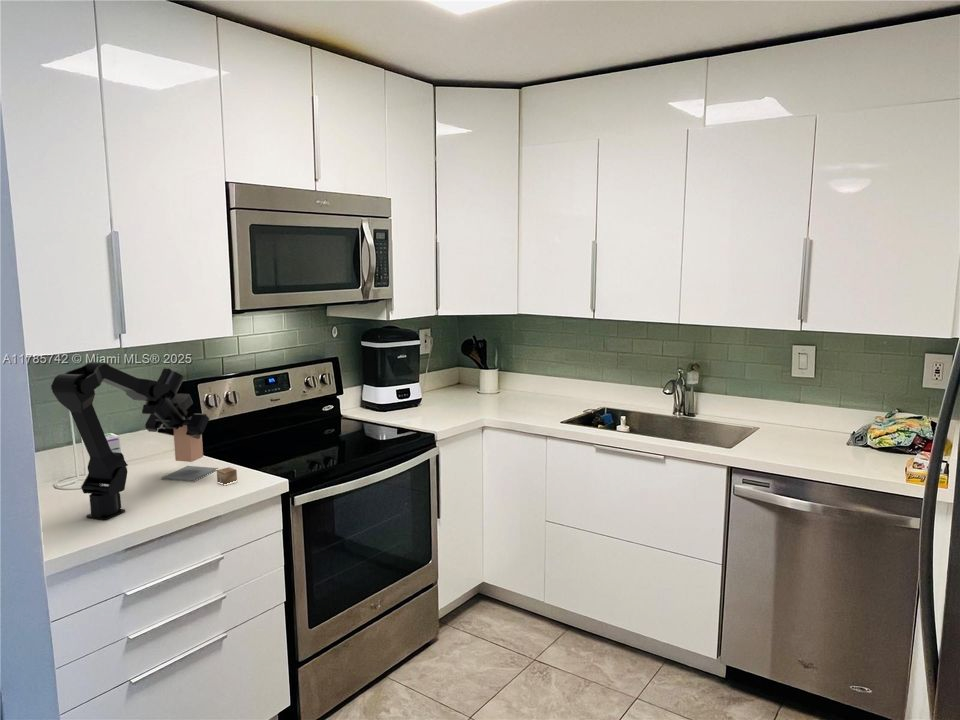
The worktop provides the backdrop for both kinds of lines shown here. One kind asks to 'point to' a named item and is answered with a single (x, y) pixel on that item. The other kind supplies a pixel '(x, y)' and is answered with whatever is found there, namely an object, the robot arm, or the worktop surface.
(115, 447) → the syrup box
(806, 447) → the worktop surface
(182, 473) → the rubber mat
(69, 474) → the worktop surface
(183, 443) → the salmon pink pillar
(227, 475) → the letter cube
